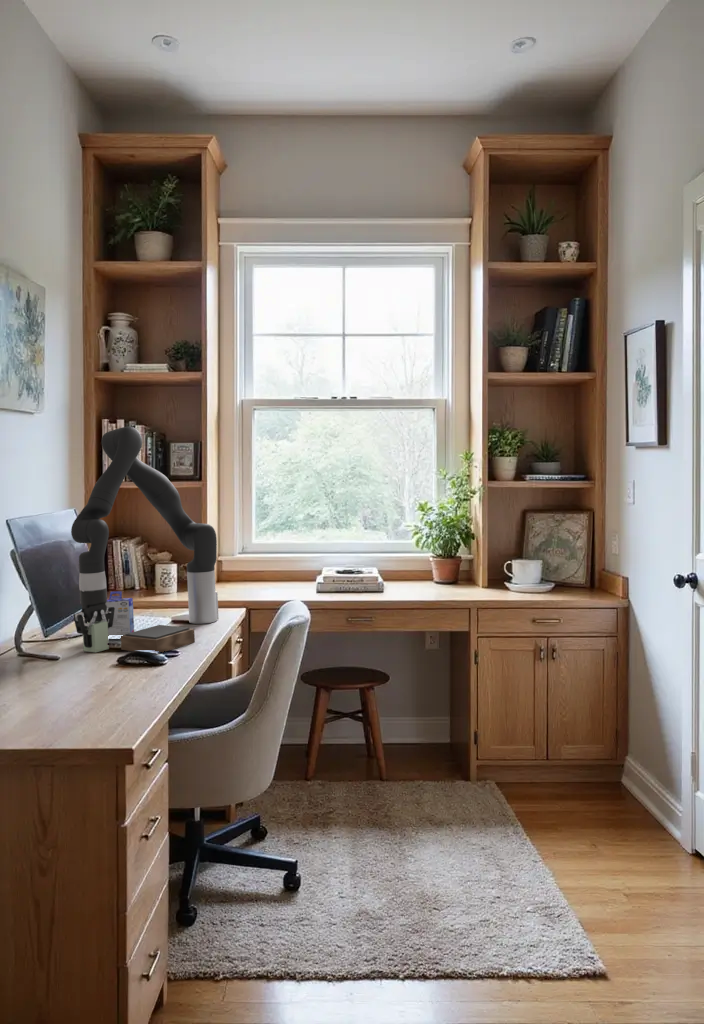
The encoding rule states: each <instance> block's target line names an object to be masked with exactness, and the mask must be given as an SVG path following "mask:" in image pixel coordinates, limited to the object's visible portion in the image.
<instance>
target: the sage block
mask: <svg viewBox="0 0 704 1024" xmlns="http://www.w3.org/2000/svg"><path fill="white" fill-rule="evenodd" d="M87 623H88V622H87ZM88 624H89V623H88ZM87 629H88V626H87ZM91 630H92V631H91V634H90V635H92V647H90V648H87V647H85V645H84V636H83V635H82V644H83V645H82V646H83V648H82V649H83V652H90V653H98V652H102V651H105V650H109V649H110V643H109V642H110V640H108V622H98V621H97V622H95V623H94V625H92V627H91ZM107 643H109V645H107Z"/></svg>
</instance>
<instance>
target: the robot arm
mask: <svg viewBox="0 0 704 1024" xmlns="http://www.w3.org/2000/svg"><path fill="white" fill-rule="evenodd" d="M101 447H102V449H103V451H104V453H105V455H106V456H107V457H108V458H109V459H110V460H111V462H110V464H109V466H108V467H106V469H105V470H104V472H103V473H102V474H101V475H100V477H99V478H98V479H97V481H96V483H95V484H94V486H93V488H92V490H91V492H90V495H89V498H88V500H87V503H86V504H85V506H84V507H83V508H82V510H81V511H80V512H79V514H78V515H77V517H76V518H75V519H74V521H73V523H72V526H71V530H70V533H71V538H72V539H73V541H74V542H76V543H78V544H90V548H89V550H88V551H84V552H81V553H80V554H79V556H78V569H79V571H78V572H79V577H78V586H79V602H80V603H79V604H80V605H81V610H80V612H78V613H74V614H73V615H72V618H73V622H74V626H75V629H76V633H77V634H80V635H82V637H83V636H84V645H85V647H87V648H90V647H92V635H90V634H91V631H92V630H91V627H92V625H94V623H95V622H97V621H98V622H108V620H109V623H108V628H110V627H112V626H113V618H114V610H115V608H114V607H107V606H106V602H107V599H108V594H107V593H108V591H107V577H106V571H105V554H106V549H107V545H108V541H109V537H110V529H109V525H108V524H107V522H106V521H105V520H104V519H103V518H105V517H108V516H109V515H110V513H111V511H112V509H113V506H114V503H115V500H116V497H117V496H118V492H119V490H120V488H121V486H122V484H123V483H124V480H125V478H126V476H127V477H128V478H129V479H130V481H131V482H133V484H134V485H135V486H136V487H137V488H138V489H139V491H140V492H141V493H142V494H143V495H144V497H145V498H146V499H147V501H148V502H149V503H150V504H151V505H152V506H153V508H154V509H155V510H156V511H157V512H158V514H160V516H161V517H162V518H163V519H164V521H166V523H167V524H168V525H169V527H170V528H171V530H172V531H173V532H174V534H175V536H176V537H177V538H178V540H179V542H180V543H181V544H182V546H184V547H185V548H186V550H189V551H193V558H192V559H191V561H188V562H187V563H186V581H187V598H188V599H187V601H188V621H189V624H197V625H201V624H202V625H203V624H210V623H215V622H217V620H219V619H220V618H219V617H220V616H219V601H218V599H219V598H218V595H219V594H218V591H216V589H217V588H216V575H215V574H216V572H215V571H216V570H215V567H216V563H217V558H218V557H217V555H218V553H217V552H218V551H217V550H218V548H217V547H218V545H217V544H218V543H217V542H218V539H217V533H216V530H215V528H214V526H212V525H211V524H209V523H199V522H195V521H193V519H191V518H190V516H189V515H188V514H187V513H186V511H185V510H184V508H183V505H182V500H181V496H180V493H179V491H178V489H177V488H176V486H175V485H174V484H173V483H172V482H171V481H170V480H169V478H168V477H167V476H166V475H165V474H163V472H161V471H159V470H157V469H155V468H153V467H152V466H150V465H148V464H147V463H145V462H143V461H142V460H140V459H139V457H138V455H139V454H140V451H141V450H142V447H143V438H142V435H141V433H140V431H139V430H138V429H137V428H135V427H133V426H123V427H119V428H115V429H112V430H109V431H107V432H104V434H103V435H102V437H101ZM87 622H88V623H89V624H88V623H87ZM87 626H88V629H87Z"/></svg>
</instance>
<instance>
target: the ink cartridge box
mask: <svg viewBox="0 0 704 1024" xmlns="http://www.w3.org/2000/svg"><path fill="white" fill-rule="evenodd" d="M122 593H123V591H122V590H119V591H116V590H115V591H110V594H109V597H108V598H107V602H106V606H107V607H114V608H115V610H114V618H113V626H112V627H110V628H108V636H109V635H126V634H127V633H131V632H135V619H134V615H135V614H134V601H133V600H134V599H133V597H128V598H127V597H125V598H122V595H123V594H122ZM115 594H118V595H115ZM108 623H109V620H108Z"/></svg>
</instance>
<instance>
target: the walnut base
mask: <svg viewBox="0 0 704 1024" xmlns="http://www.w3.org/2000/svg"><path fill="white" fill-rule="evenodd" d="M195 639H196V637H195V629H194V628H190V627H184V626H174V625H163V624H156V625H155V626H154V625H153V626H151V627H147V628H143V629H139V630H134V632H131V633H127V634H126V635H123V636H121V639H120V650H121V651H129V652H135V651H134V650H155V651H159V652H162V653H165V652H168V651H171V650H174V649H178V648H180V647H184V646H188V645H190V644H194V643H196V640H195ZM164 651H165V652H164Z"/></svg>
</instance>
